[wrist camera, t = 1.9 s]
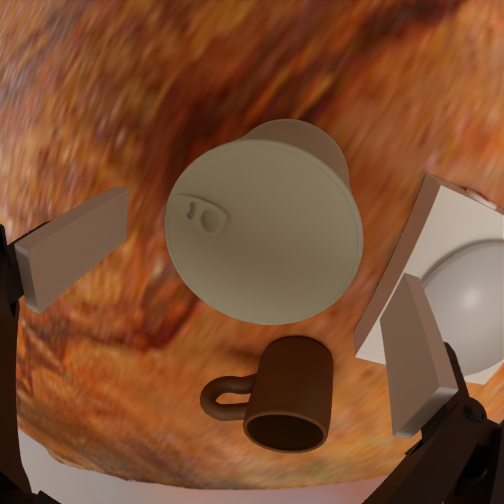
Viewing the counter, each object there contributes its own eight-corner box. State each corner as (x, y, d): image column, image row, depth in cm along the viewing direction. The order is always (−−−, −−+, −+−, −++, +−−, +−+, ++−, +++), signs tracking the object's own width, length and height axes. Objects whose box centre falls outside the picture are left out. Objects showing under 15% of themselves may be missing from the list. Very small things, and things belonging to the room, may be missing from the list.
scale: (428, 167, 21) (451, 185, 17) (555, 234, 20) (582, 259, 15) (353, 331, 29) (355, 370, 25) (476, 362, 28) (488, 395, 24)
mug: (221, 367, 36) (194, 433, 27) (223, 317, 32) (190, 388, 24) (324, 388, 34) (316, 459, 26) (342, 341, 30) (340, 419, 22)
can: (259, 98, 22) (199, 101, 11) (371, 157, 22) (409, 213, 12) (212, 201, 26) (138, 276, 16) (312, 253, 27) (297, 358, 16)
